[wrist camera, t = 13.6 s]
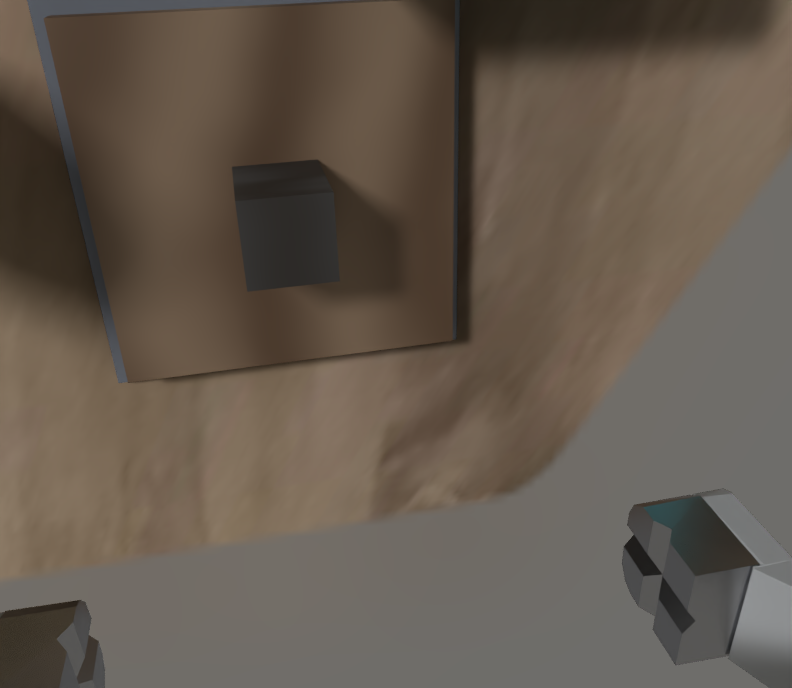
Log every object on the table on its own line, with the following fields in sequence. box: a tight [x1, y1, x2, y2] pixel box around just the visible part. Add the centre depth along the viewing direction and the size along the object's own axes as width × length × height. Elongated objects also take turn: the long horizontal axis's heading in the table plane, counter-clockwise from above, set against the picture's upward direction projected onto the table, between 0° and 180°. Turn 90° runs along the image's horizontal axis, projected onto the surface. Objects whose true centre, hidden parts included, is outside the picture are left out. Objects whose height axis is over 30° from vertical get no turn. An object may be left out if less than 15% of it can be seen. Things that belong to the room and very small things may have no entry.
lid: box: [44, 0, 455, 383], centre depth 26 cm, size 13×13×5 cm
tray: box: [27, 0, 460, 383], centre depth 28 cm, size 14×14×1 cm
